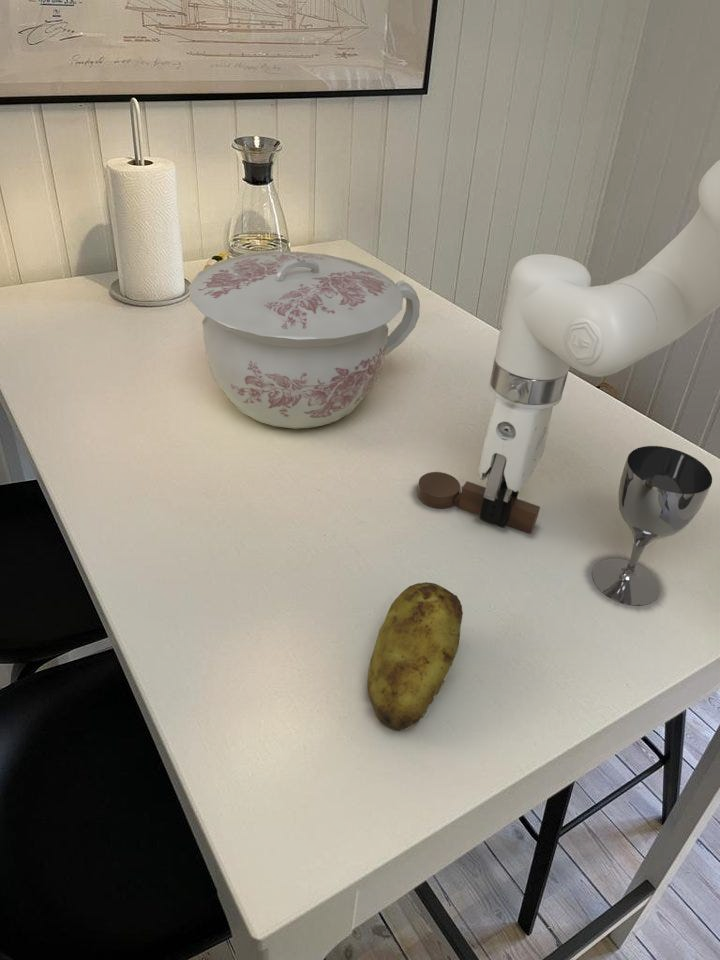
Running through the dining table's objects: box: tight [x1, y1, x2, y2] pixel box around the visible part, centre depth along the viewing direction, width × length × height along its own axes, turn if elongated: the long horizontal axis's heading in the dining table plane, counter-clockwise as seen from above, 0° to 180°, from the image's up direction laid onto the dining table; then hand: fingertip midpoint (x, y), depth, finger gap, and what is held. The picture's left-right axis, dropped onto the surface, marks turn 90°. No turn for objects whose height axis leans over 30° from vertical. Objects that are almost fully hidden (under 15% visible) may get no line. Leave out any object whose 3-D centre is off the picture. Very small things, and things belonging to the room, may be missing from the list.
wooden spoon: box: [416, 471, 541, 535], centre depth 89 cm, size 14×5×3 cm, turn 62°
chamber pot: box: [188, 251, 421, 430], centre depth 100 cm, size 28×28×21 cm
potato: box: [366, 581, 464, 732], centre depth 66 cm, size 8×13×8 cm, turn 142°
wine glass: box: [591, 445, 713, 606], centre depth 77 cm, size 8×8×15 cm
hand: (496, 516), depth 88 cm, fingers closed on wooden spoon
